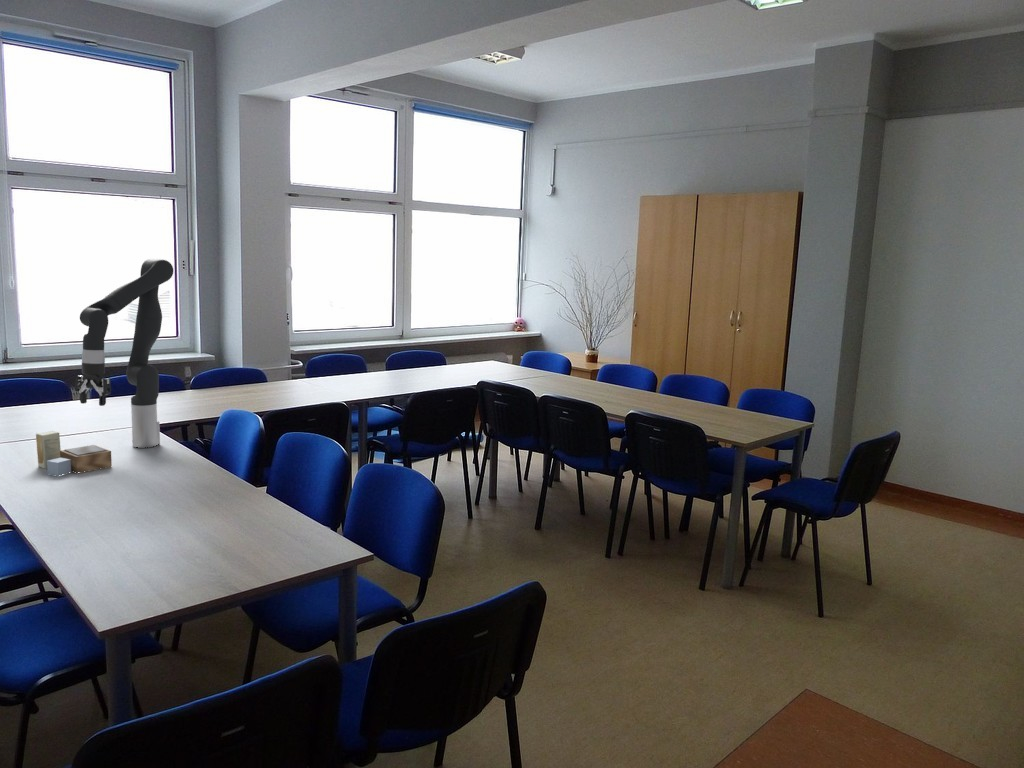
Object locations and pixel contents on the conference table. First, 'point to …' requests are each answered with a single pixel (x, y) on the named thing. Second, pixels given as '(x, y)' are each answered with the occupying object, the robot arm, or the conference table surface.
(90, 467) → the walnut base
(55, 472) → the slate cube
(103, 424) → the conference table surface
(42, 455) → the skincare box
